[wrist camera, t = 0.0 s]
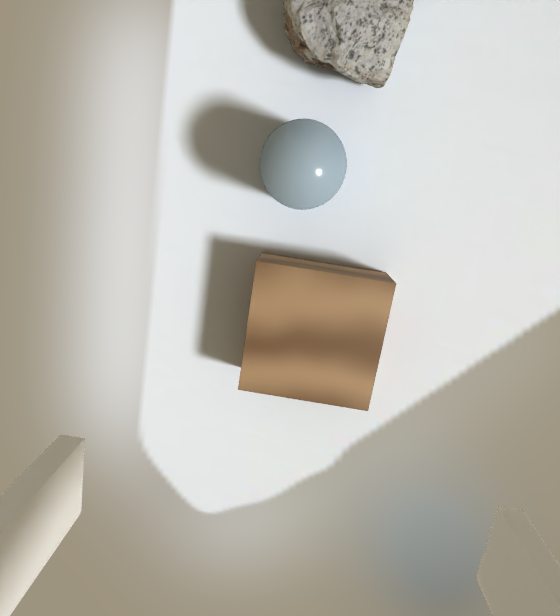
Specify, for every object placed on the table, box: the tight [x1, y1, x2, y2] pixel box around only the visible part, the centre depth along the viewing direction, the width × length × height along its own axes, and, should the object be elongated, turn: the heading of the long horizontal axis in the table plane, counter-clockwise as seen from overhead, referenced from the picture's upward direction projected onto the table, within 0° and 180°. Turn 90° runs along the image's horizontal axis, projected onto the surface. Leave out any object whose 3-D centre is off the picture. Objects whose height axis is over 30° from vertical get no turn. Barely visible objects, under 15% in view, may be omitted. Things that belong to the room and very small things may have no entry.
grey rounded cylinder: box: [260, 119, 347, 210], centre depth 36 cm, size 6×6×7 cm
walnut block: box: [238, 253, 396, 411], centre depth 40 cm, size 11×11×5 cm
